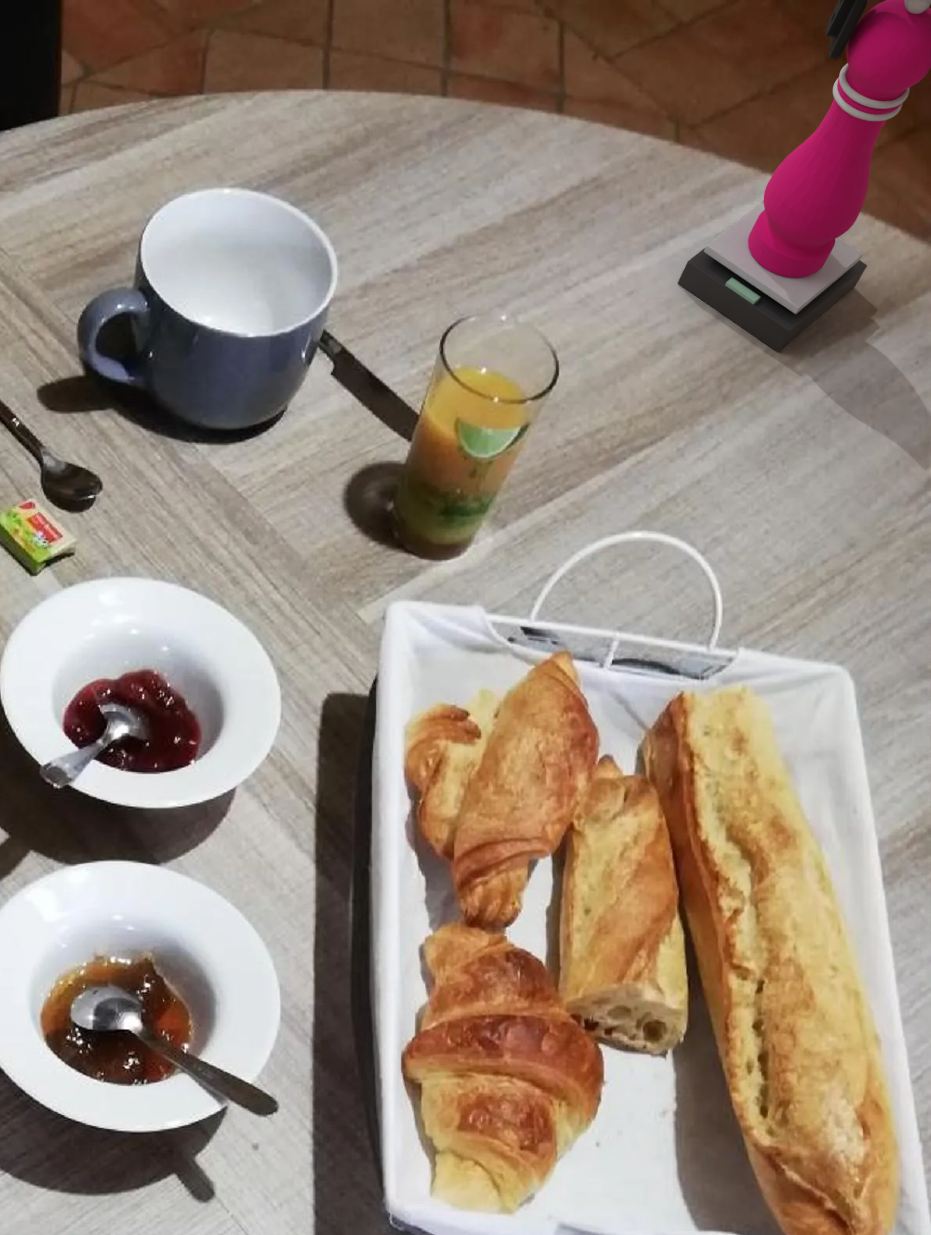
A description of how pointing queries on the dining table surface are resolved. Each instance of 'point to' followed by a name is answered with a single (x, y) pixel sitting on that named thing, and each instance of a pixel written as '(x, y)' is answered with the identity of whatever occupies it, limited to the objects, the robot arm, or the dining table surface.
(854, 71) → the pepper mill
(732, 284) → the scale
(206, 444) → the dining table surface
